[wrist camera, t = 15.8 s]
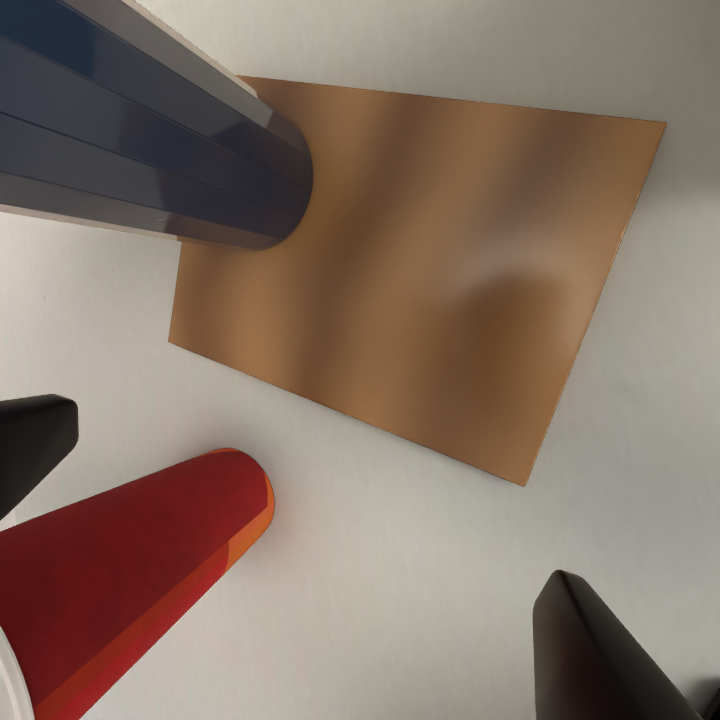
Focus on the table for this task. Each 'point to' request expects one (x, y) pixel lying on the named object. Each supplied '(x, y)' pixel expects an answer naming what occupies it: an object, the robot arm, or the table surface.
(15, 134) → the tumbler
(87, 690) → the paper cup
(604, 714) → the robot arm
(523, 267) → the wooden board
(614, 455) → the table surface
